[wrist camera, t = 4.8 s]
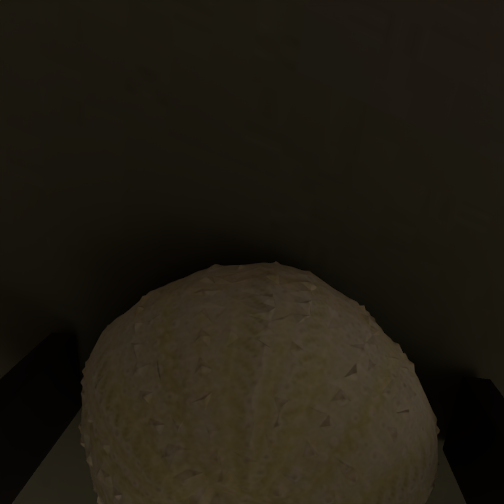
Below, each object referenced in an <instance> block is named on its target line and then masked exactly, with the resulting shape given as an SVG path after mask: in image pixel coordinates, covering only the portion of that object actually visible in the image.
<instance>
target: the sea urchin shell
mask: <svg viewBox="0 0 504 504" xmlns="http://www.w3.org/2000/svg"><path fill="white" fill-rule="evenodd" d="M82 373H83V375H84V377H83V379H82V381H81V382H80V383H81V384H82V386H83V389H82V392H81V396H82V411H81V423H80V424H79V425H78V427H79V430H80V432H81V434H82V436H81V439H80V444H81V445H82V446H83V447H84V448H85V451H86V461H87V462H88V465H89V467H90V473H91V479H92V482H93V484H94V485H93V489H94V490H95V491H96V492H97V493H98V499H97V503H98V504H425V503H426V501H427V499H428V498H429V494H430V492H431V491H432V490H433V488H434V479H436V478H437V477H438V473H437V466H438V465H439V463H438V439H437V435H438V433H439V432H440V429H439V428H438V427H437V425H436V423H437V418H436V416H435V415H434V413H433V411H432V409H431V406H430V404H429V402H428V399H427V397H426V395H425V393H424V391H423V388H422V386H421V384H420V381H419V379H418V377H417V376H416V374H415V369H414V363H412V362H411V361H409V360H408V358H407V356H406V354H405V353H403V352H402V350H401V348H400V346H399V344H398V343H395V342H393V341H392V340H391V339H390V337H388V336H387V335H386V334H385V333H384V332H383V331H382V328H381V327H380V326H379V325H378V324H377V323H376V322H375V318H373V317H372V316H370V313H369V312H368V311H366V310H365V306H359V304H358V302H356V301H354V300H352V299H350V298H348V297H347V296H345V295H344V294H342V293H340V292H339V291H337V290H335V289H333V288H332V287H331V286H329V285H328V284H327V283H325V282H324V281H322V280H321V279H320V278H318V277H317V276H315V275H314V274H313V273H311V272H310V271H303V270H300V269H297V268H294V267H291V266H285V265H281V264H279V263H278V262H277V261H275V262H274V263H256V264H248V265H229V266H222V265H218V264H214V265H213V266H211V267H210V268H208V269H205V270H201V271H197V272H195V273H193V274H191V275H189V276H187V277H185V278H182V279H179V280H177V281H174V282H171V283H169V284H167V285H165V286H163V287H159V288H158V289H156V290H153V291H150V292H149V293H148V294H147V295H145V296H142V298H141V300H140V301H139V302H138V303H137V304H135V305H134V306H133V307H132V308H131V309H129V310H128V311H127V312H126V313H124V314H123V315H121V316H119V317H118V318H116V319H115V320H114V321H113V322H112V323H111V324H110V325H107V328H106V329H105V330H103V332H102V334H101V335H100V337H99V339H98V341H97V343H96V345H95V347H94V349H93V351H92V353H91V354H90V357H89V359H88V360H87V361H86V362H85V368H84V369H83V370H82Z"/></svg>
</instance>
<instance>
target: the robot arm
mask: <svg viewBox="0 0 504 504" xmlns="http://www.w3.org/2000/svg"><path fill="white" fill-rule="evenodd" d="M81 407H82V396H81V387H80V378H79V369H78V360H77V351H76V342H75V335H68V334H58V333H51V334H50V335H49V336H48V337H46V338H45V339H44V340H43V341H42V342H41V343H40V344H39V345H38V346H36V347H35V348H34V349H33V350H32V351H31V352H30V353H29V354H28V355H27V356H25V357H24V358H23V359H22V360H21V361H20V362H19V363H18V364H17V365H15V366H14V367H13V368H12V369H11V370H10V371H9V372H8V373H7V374H6V375H4V376H3V377H2V378H1V379H0V504H12V502H13V501H14V500H15V498H16V497H17V495H18V494H19V493H20V491H21V490H22V489H23V487H24V486H25V484H26V483H27V482H28V480H29V479H30V478H31V476H32V475H33V473H34V472H35V471H36V469H37V468H38V466H39V465H40V464H41V462H42V461H43V460H44V458H45V457H46V455H47V454H48V453H49V451H50V450H51V449H52V447H53V446H54V444H55V443H56V442H57V440H58V439H59V437H60V436H61V435H62V433H63V432H64V431H65V429H66V428H67V426H68V425H69V424H70V422H71V421H72V419H73V418H74V417H75V415H76V414H77V413H78V411H79V410H80V408H81ZM443 451H444V453H445V456H446V458H447V460H448V463H449V465H450V467H451V469H452V472H453V474H454V476H455V478H456V481H457V483H458V485H459V487H460V490H461V492H462V494H463V497H464V499H465V501H466V503H467V504H504V398H503V396H502V395H501V393H500V392H499V391H498V389H497V388H496V387H495V385H494V384H493V383H492V381H491V380H490V379H481V378H471V377H463V379H462V382H461V386H460V389H459V393H458V396H457V400H456V403H455V407H454V410H453V414H452V418H451V421H450V425H449V428H448V432H447V435H446V439H445V442H444V446H443Z"/></svg>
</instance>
